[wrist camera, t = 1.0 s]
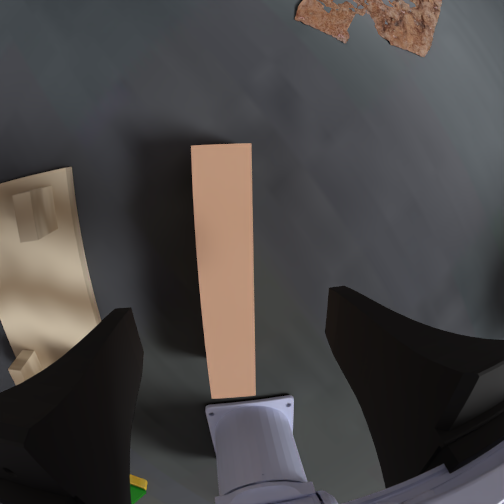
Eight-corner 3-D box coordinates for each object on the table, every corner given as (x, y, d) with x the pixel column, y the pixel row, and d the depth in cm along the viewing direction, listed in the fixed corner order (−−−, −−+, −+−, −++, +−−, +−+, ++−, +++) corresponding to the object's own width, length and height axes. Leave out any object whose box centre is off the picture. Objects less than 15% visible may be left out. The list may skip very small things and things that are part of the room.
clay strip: (247, 354, 25) (255, 395, 20) (210, 356, 24) (211, 398, 20) (241, 145, 20) (251, 143, 15) (195, 147, 20) (191, 145, 15)
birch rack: (121, 381, 24) (111, 413, 20) (32, 377, 23) (16, 403, 19) (71, 166, 18) (44, 171, 15) (-24, 191, 17) (-54, 199, 14)
